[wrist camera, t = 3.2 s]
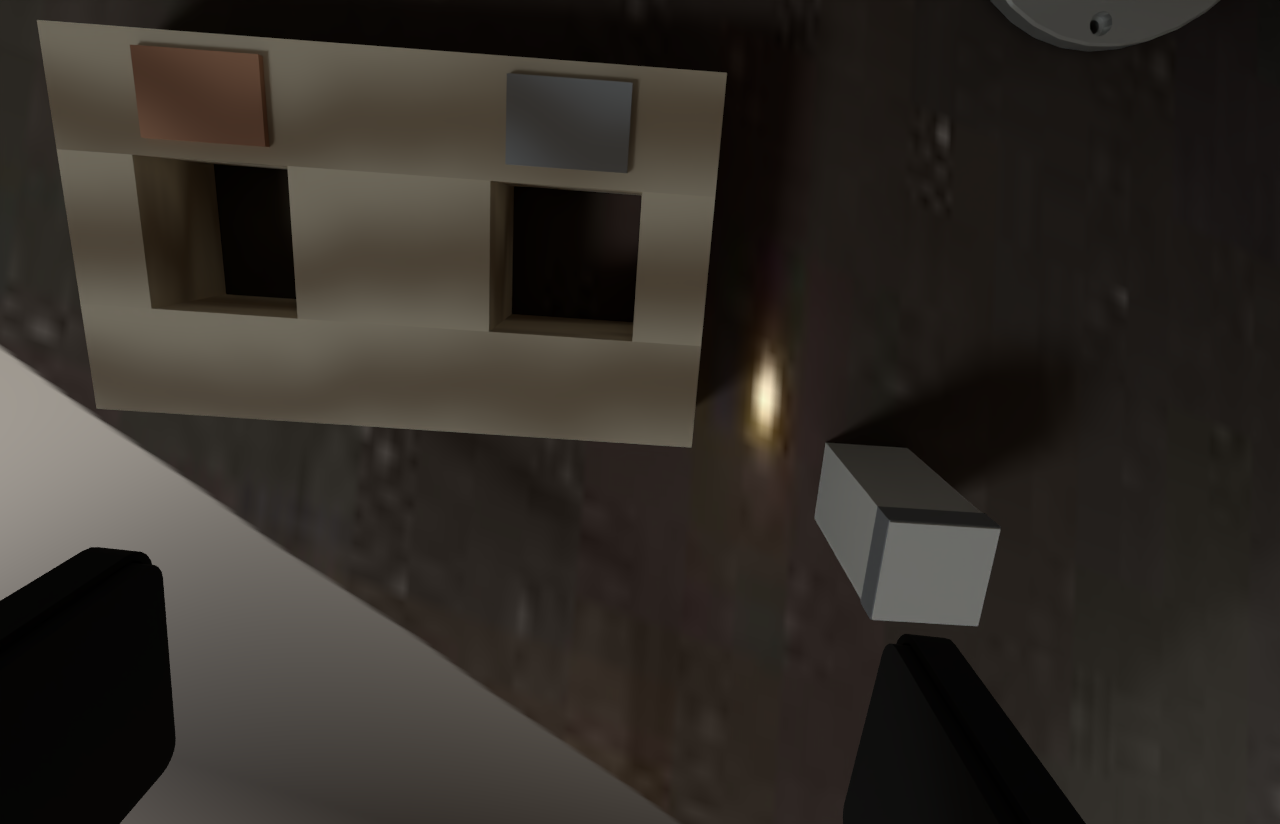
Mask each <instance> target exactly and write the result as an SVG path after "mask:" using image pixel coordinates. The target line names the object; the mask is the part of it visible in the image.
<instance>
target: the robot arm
mask: <svg viewBox="0 0 1280 824" xmlns="http://www.w3.org/2000/svg"><path fill="white" fill-rule="evenodd" d="M990 1H991V2H992V3H993V4H994V5H995V6H996V7H997V8H998V9H999V10H1000V11H1001V12H1002V13H1003V15H1004V16H1005V17H1006V18H1007V19H1008V20H1009V21H1010V22H1011V23H1013V24H1014V25H1016V26H1017V27H1019V28H1020V29H1022V30H1023V31H1025V32H1026V33H1028V34H1029V35H1031V36H1032V37H1034V38H1036V39H1039V40H1041V41H1044V42H1047V43H1049V44H1052V45H1055V46H1057V47H1060V48H1066V49H1074V50H1081V51H1089V52H1090V51H1103V50H1115V49H1121V48H1125V47H1128V46H1132V45H1135V44H1139V43H1142V42H1146V41H1149V40H1152V39H1154V38H1157V37H1159V36H1162V35H1164V34H1167V33H1169V32H1172V31H1175V30H1177V29H1179V28H1181V27H1182V26H1184V25H1186V24H1187V23H1189V22H1191V21H1192V20H1194V19H1195V18H1197V17H1199V16H1200V15H1202V14H1204V13H1205V12H1207V11H1208V10H1209V9H1211V8H1212V7H1213V6H1214V5H1215V4H1216V3H1218V2H1219V1H1220V0H990ZM1090 25H1091V26H1092V32H1091V30H1090ZM174 748H175V726H174V714H173V701H172V687H171V675H170V663H169V649H168V637H167V625H166V611H165V599H164V587H163V576H162V572H161V570H160V569H159V568H158V567H157V566H155V565H152V563H151V560H150V559H149V557H148V556H147V555H146V554H144V553H142V552H137V551H127V550H118V549H108V548H100V547H95V548H94V547H91V548H89V549H86V550H84V551H82V552H80V553H79V554H77V555H75V556H74V557H72V558H70V559H69V560H67V561H65V562H64V563H62V564H60V565H59V566H57V567H56V568H54V569H52V570H51V571H49V572H48V573H46V574H44V575H42V576H41V577H39V578H37V579H36V580H34V581H33V582H31V583H29V584H28V585H26V586H24V587H23V588H21V589H19V590H17V591H16V592H14V593H13V594H11V595H9V596H8V597H6V598H4V599H3V600H1V601H0V824H120V822H121V821H122V820H123V819H124V818H125V817H126V816H127V814H128V813H129V812H130V811H131V810H132V808H133V807H134V806H135V805H136V804H137V803H138V801H139V800H140V799H141V798H142V797H143V795H144V794H145V793H146V792H147V791H148V790H149V789H150V787H151V786H152V785H153V784H154V782H156V780H157V779H158V778H159V777H160V776H161V775H162V773H163V772H164V770H165V769H166V768H167V766H168V764H169V762H170V760H171V757H172V755H173V752H174ZM843 824H1086V823H1085V822H1084V821H1083V819H1082V818H1081V817H1080V815H1079V814H1078V813H1077V811H1076V810H1075V808H1074V807H1073V806H1072V804H1071V803H1070V802H1069V800H1068V799H1067V797H1066V796H1065V795H1064V793H1063V792H1062V791H1061V789H1060V788H1059V786H1058V785H1057V784H1056V782H1055V781H1054V780H1053V778H1052V777H1051V776H1050V774H1049V773H1048V771H1047V770H1046V769H1045V767H1044V766H1043V765H1042V763H1041V762H1040V760H1039V759H1038V758H1037V756H1036V755H1035V754H1034V752H1033V751H1032V749H1031V748H1030V747H1029V745H1028V744H1027V743H1026V741H1025V740H1024V739H1023V737H1022V736H1021V734H1020V733H1019V732H1018V730H1017V729H1016V728H1015V726H1014V725H1013V723H1012V722H1011V721H1010V719H1009V718H1008V717H1007V715H1006V714H1005V712H1004V711H1003V710H1002V708H1001V707H1000V706H999V704H998V703H997V702H996V700H995V699H994V697H993V696H992V695H991V693H990V692H989V691H988V689H987V688H986V686H985V685H984V684H983V682H982V681H981V680H980V678H979V677H978V675H977V674H976V673H975V671H974V670H973V669H972V667H971V666H970V665H969V663H968V662H967V660H966V659H965V658H964V656H963V655H962V654H961V652H960V651H959V649H958V648H957V647H956V645H955V644H954V643H953V642H952V641H951V640H950V639H946V638H939V637H930V636H920V635H911V634H904V635H902V636H901V637H900V638H899V639H898V641H897V644H888V645H887V646H886V647H885V648H884V651H883V654H882V657H881V661H880V665H879V669H878V673H877V677H876V681H875V685H874V689H873V693H872V697H871V701H870V705H869V709H868V713H867V717H866V721H865V724H864V728H863V732H862V736H861V740H860V744H859V748H858V752H857V756H856V760H855V764H854V768H853V772H852V776H851V780H850V784H849V788H848V792H847V796H846V800H845V803H844V809H843Z"/></svg>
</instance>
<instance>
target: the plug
mask: <svg viewBox="0 0 1280 824" xmlns="http://www.w3.org/2000/svg"><path fill="white" fill-rule="evenodd" d="M814 518H815V520H816V522H817V524H818V525H819V527H820V529H821V531H822V532H823V534H824V536H825V538H826V539H827V541H828V543H829V545H830V546H831V548H832V550H833V551H834V553H835V555H836V557H837V558H838V560H839V562H840V564H841V565H842V567H843V569H844V571H845V572H846V574H847V576H848V578H849V579H850V581H851V583H852V585H853V586H854V588H855V590H856V592H857V593H858V595H859V597H860V599H861V604H862V606H863V607H864V609H865V611H866V613H867V614H868V616H869V618H870V619H873V620H885V621H901V622H918V623H934V624H950V625H967V626H978V624H979V619H980V615H981V611H982V606H983V602H984V598H985V594H986V589H987V585H988V581H989V577H990V572H991V568H992V564H993V559H994V555H995V551H996V547H997V542H998V538H999V534H1000V528H1001V527H1000V526H999V525H998V524H997V523H996V522H995V521H993V520H992V519H991V518H990V517H989V516H988V515H986V514H985V513H981V512H980V511H979V510H978V509H977V508H976V507H974V506H973V505H972V504H971V503H970V502H969V501H968V500H966V499H965V498H964V497H963V496H962V495H961V494H960V493H958V492H957V491H956V490H955V489H954V488H953V487H952V486H950V485H949V484H948V483H947V482H946V481H945V480H944V479H942V478H941V477H940V476H939V475H938V474H937V473H936V472H934V471H933V470H932V469H931V468H930V467H929V466H928V465H926V464H925V463H924V462H923V461H922V460H921V459H920V458H918V457H917V456H916V455H915V454H914V453H913V452H911V451H910V450H909V449H908V448H901V447H885V446H870V445H855V444H840V443H826V445H825V451H824V458H823V464H822V471H821V478H820V484H819V491H818V497H817V504H816V511H815V517H814Z"/></svg>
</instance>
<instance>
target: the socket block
mask: <svg viewBox="0 0 1280 824" xmlns="http://www.w3.org/2000/svg"><path fill="white" fill-rule="evenodd" d="M37 24H38V31H39V37H40V43H41V50H42V56H43V63H44V69H45V76H46V82H47V89H48V95H49V102H50V108H51V115H52V121H53V128H54V134H55V141H56V147H57V154H58V160H59V167H60V173H61V180H62V186H63V193H64V199H65V206H66V212H67V219H68V225H69V232H70V238H71V245H72V251H73V258H74V264H75V271H76V277H77V284H78V290H79V297H80V303H81V310H82V316H83V323H84V329H85V336H86V342H87V349H88V355H89V362H90V368H91V375H92V381H93V388H94V394H95V401H96V407H97V409H111V410H127V411H142V412H157V413H172V414H188V415H203V416H218V417H234V418H249V419H264V420H279V421H295V422H310V423H325V424H341V425H356V426H371V427H386V428H402V429H417V430H432V431H448V432H463V433H478V434H493V435H509V436H524V437H539V438H555V439H570V440H585V441H601V442H616V443H631V444H646V445H662V446H677V447H692V437H693V426H694V415H695V405H696V394H697V384H698V373H699V363H700V352H701V342H702V331H703V321H704V310H705V299H706V289H707V278H708V268H709V257H710V247H711V236H712V226H713V215H714V205H715V194H716V184H717V173H718V162H719V152H720V141H721V131H722V120H723V110H724V99H725V89H726V78H727V73H724V72H711V71H698V70H685V69H672V68H658V67H645V66H632V65H619V64H606V63H593V62H580V61H567V60H554V59H541V58H527V57H514V56H501V55H488V54H475V53H462V52H449V51H436V50H423V49H410V48H396V47H383V46H370V45H357V44H344V43H331V42H318V41H305V40H292V39H279V38H265V37H252V36H239V35H226V34H213V33H200V32H187V31H174V30H161V29H148V28H134V27H121V26H108V25H95V24H82V23H69V22H56V21H43V20H37ZM214 164H217V165H231V166H245V167H259V168H272V169H286V170H288V183H289V198H290V213H291V228H292V242H293V257H294V272H295V287H296V299H288V298H274V297H259V296H244V295H230V294H226V287H225V277H224V266H223V256H222V245H221V235H220V224H219V214H218V203H217V193H216V182H215V172H214ZM514 186H520V187H534V188H548V189H562V190H575V191H589V192H603V193H617V194H630V195H642V201H641V216H640V231H639V246H638V261H637V276H636V291H635V306H634V321H633V322H622V321H607V320H593V319H578V318H564V317H549V316H535V315H520V314H512V276H513V220H514Z"/></svg>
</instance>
